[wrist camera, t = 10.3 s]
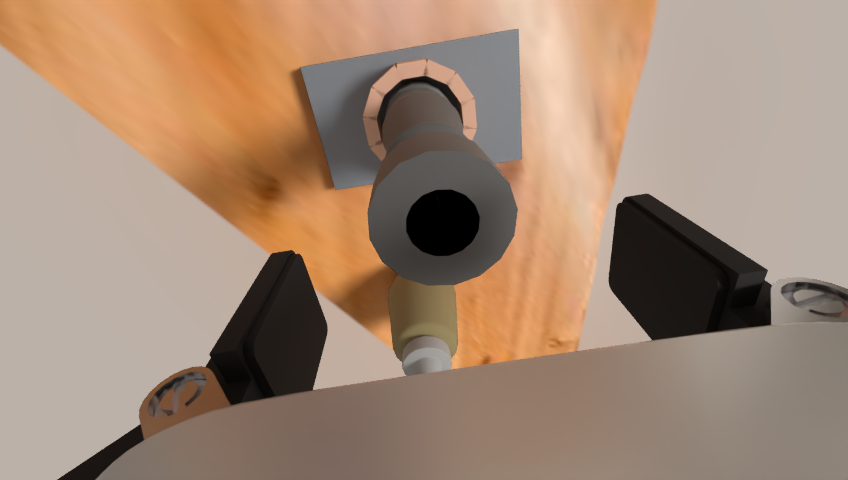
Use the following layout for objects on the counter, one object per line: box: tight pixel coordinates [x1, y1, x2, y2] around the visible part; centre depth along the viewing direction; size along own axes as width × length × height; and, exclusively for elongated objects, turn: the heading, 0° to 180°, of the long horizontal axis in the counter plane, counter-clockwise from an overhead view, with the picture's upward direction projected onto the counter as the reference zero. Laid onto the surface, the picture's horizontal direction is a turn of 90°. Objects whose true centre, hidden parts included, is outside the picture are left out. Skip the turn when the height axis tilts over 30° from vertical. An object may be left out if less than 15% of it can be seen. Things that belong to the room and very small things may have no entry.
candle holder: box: [368, 80, 518, 286], centre depth 25 cm, size 6×6×25 cm
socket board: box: [300, 29, 522, 190], centre depth 35 cm, size 20×12×5 cm, turn 99°
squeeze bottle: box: [388, 275, 458, 376], centre depth 39 cm, size 8×8×18 cm
